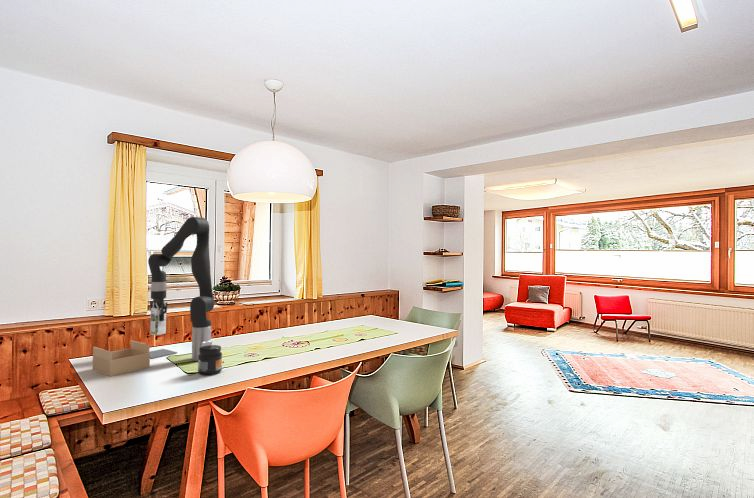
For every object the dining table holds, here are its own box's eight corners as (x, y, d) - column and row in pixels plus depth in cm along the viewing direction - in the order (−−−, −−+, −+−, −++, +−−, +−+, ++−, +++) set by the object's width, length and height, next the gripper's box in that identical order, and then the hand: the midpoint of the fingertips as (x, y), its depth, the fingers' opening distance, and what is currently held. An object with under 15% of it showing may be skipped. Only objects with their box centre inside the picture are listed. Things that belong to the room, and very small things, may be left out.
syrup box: (149, 334, 219) (150, 308, 219) (159, 332, 224) (160, 306, 224) (156, 335, 216) (156, 308, 216) (166, 333, 222) (166, 307, 222)
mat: (177, 353, 222) (177, 352, 222) (151, 358, 211) (151, 357, 211) (163, 349, 230) (163, 348, 230) (138, 355, 218) (138, 353, 218)
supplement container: (226, 370, 192) (226, 345, 192) (213, 376, 182) (213, 350, 182) (206, 368, 194) (207, 344, 194) (192, 375, 184) (193, 349, 184)
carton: (149, 367, 196) (149, 344, 196) (110, 376, 181) (110, 352, 181) (131, 361, 206) (131, 340, 206) (92, 369, 191) (92, 346, 191)
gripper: (172, 290, 220) (172, 320, 220) (158, 288, 227) (158, 318, 227) (158, 291, 213) (158, 322, 213) (144, 289, 221) (144, 320, 221)
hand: (158, 320), depth 220 cm, fingers closed on syrup box, 6 cm apart
